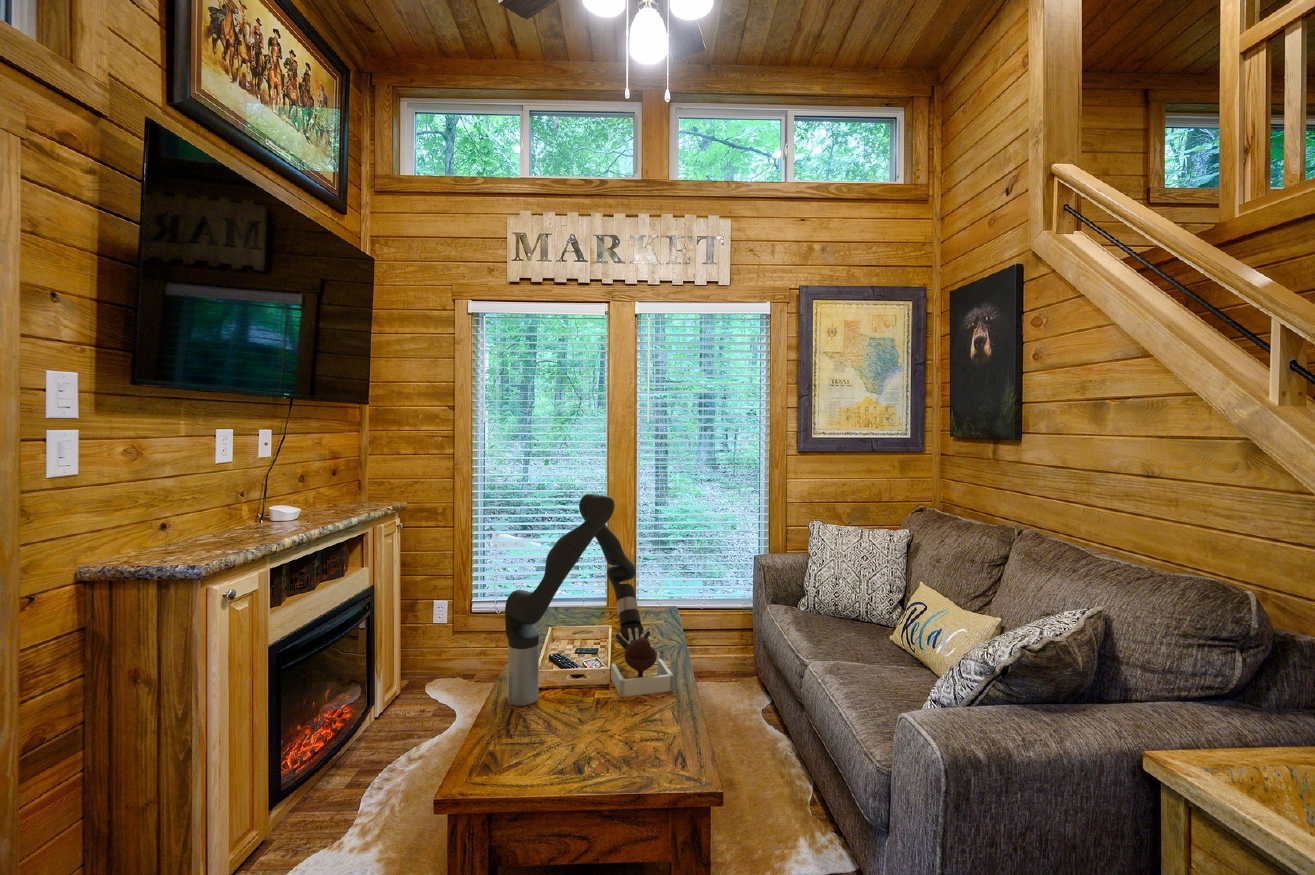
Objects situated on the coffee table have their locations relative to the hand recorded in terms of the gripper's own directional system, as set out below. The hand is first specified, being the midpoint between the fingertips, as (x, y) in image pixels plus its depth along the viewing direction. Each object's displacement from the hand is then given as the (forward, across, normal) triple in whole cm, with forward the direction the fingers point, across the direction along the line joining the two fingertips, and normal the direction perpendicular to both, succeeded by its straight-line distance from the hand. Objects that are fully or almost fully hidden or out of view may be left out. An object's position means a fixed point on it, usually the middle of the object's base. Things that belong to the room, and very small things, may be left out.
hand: (636, 660), depth 199 cm
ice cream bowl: (+7, 0, 0) cm, 7 cm away
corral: (+8, 0, -1) cm, 8 cm away
